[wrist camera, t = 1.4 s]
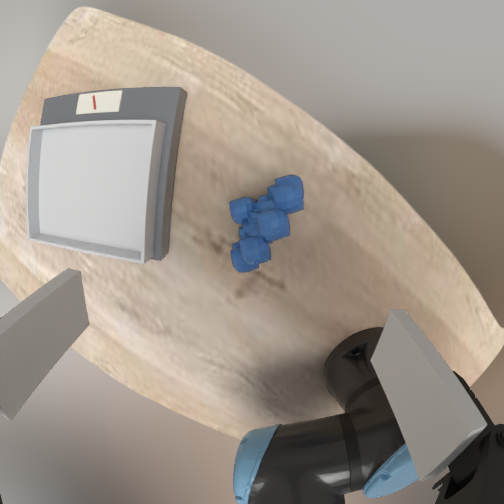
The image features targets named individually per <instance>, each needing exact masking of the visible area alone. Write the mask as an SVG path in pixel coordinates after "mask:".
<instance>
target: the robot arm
mask: <svg viewBox="0 0 504 504" xmlns="http://www.w3.org/2000/svg"><path fill="white" fill-rule="evenodd" d="M89 325H90V324H89V319H88V314H87V309H86V303H85V297H84V291H83V285H82V277H81V271H78V270H73V269H66V270H65V271H63V272H62V273H61V274H59V275H58V276H56V277H55V278H53V279H52V280H51V281H49V282H48V283H46V284H45V285H44V286H42V287H41V288H39V289H38V290H37V291H35V292H34V293H33V294H31V295H30V296H29V297H27V298H26V299H25V300H23V301H22V302H21V303H20V304H18V305H17V306H16V307H15V308H13V309H12V310H11V311H9V312H8V313H7V314H6V315H4V316H3V317H1V318H0V414H1V415H3V416H4V417H5V418H7V419H8V420H10V421H12V420H13V418H14V417H15V416H16V414H17V413H18V412H19V410H20V409H21V407H22V406H23V404H24V403H25V402H26V401H27V399H28V398H29V397H30V395H31V394H32V393H33V391H34V390H35V389H36V388H37V386H38V385H39V384H40V383H41V381H42V380H43V379H44V377H45V376H46V375H47V374H48V373H49V371H50V370H51V369H52V368H53V366H54V365H55V364H56V363H57V361H58V360H59V359H60V358H61V357H62V356H63V354H64V353H65V352H66V351H67V350H68V348H69V347H70V346H71V345H72V344H73V343H74V342H75V340H76V339H77V338H78V337H79V336H80V335H81V334H82V332H83V331H84V330H85V329H86V328H87V327H88V326H89ZM324 379H325V383H326V387H327V389H328V391H329V393H330V394H331V395H332V396H333V397H334V398H335V399H336V401H337V402H338V404H339V405H340V406H341V407H342V409H343V410H344V412H345V413H343V414H339V415H334V416H330V417H325V418H320V419H315V420H310V421H305V422H299V423H293V424H286V425H282V424H277V425H275V426H272V427H266V428H260V429H254V430H252V431H250V432H248V433H247V434H246V435H245V436H244V437H243V439H242V440H241V443H240V445H239V447H238V451H237V454H236V459H235V464H234V473H233V488H234V494H235V495H236V501H237V502H238V504H345V499H344V494H347V493H350V492H354V491H357V490H362V489H363V494H365V495H366V497H368V498H377V497H382V496H385V495H388V494H391V493H394V492H396V491H398V490H400V489H402V488H404V487H406V486H408V485H409V484H411V483H413V482H414V481H416V480H417V479H419V480H420V481H423V480H426V479H429V478H432V477H434V476H437V475H438V474H439V473H441V472H442V471H443V470H444V469H445V468H446V467H447V466H448V467H449V470H450V472H449V473H448V474H446V475H445V476H444V477H443V478H442V479H441V480H439V481H438V482H437V483H436V484H435V485H434V486H433V488H432V489H435V488H437V487H438V486H439V485H441V484H442V483H443V484H442V487H440V488H439V489H438V491H440V493H439V495H438V498H437V500H436V503H435V504H504V424H498V425H494V424H493V422H492V421H491V419H490V418H489V416H488V414H487V413H486V411H485V410H484V408H483V407H482V405H481V404H480V402H479V401H478V399H477V398H475V395H474V393H473V392H472V390H470V387H469V386H468V385H467V383H466V382H465V380H464V379H463V378H462V377H461V376H459V375H458V374H457V373H456V372H455V371H452V370H451V369H450V367H449V366H448V364H447V363H446V362H445V360H444V359H443V358H442V356H441V355H440V354H439V352H438V351H437V350H436V348H435V347H434V346H433V344H432V343H431V342H430V340H429V339H428V338H427V336H426V335H425V334H424V333H423V331H422V330H421V329H420V328H419V326H418V325H417V324H416V323H415V321H414V320H413V319H412V318H411V316H410V315H409V314H408V313H407V312H406V310H394V309H391V310H390V313H389V316H388V318H387V321H386V324H385V326H384V328H374V329H369V330H365V331H362V332H359V333H357V334H355V335H353V336H351V337H349V338H348V339H346V340H345V341H343V342H342V343H341V344H340V345H339V346H337V347H336V348H335V350H334V351H333V352H332V353H331V354H330V356H329V358H328V359H327V361H326V364H325V367H324ZM0 504H3V503H2V499H1V495H0Z"/></svg>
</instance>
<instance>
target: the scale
mask: <svg viewBox="0 0 504 504" xmlns="http://www.w3.org/2000/svg"><path fill="white" fill-rule="evenodd" d="M186 97H187V92H185V91H184V90H183V89H182V88H181V87H144V88H123V89H110V90H100V91H91V92H83V93H76V94H69V95H63V96H58V97H52V98H47V99H45V101H44V106H43V112H42V118H41V125H40V126H35V127H30V135H29V144H28V156H27V173H26V214H27V231H28V240H30V241H34V242H38V243H43V244H47V245H52V246H56V247H61V248H65V249H70V250H75V251H79V252H84V253H89V254H94V255H99V256H104V257H108V258H114V259H119V260H124V261H129V262H134V263H139V264H145V263H146V262H147V261H148V260H149V259H155V260H160V261H161V260H162V259H163V258H164V257H165V256H166V255H167V254H168V247H169V231H170V218H171V206H172V196H173V186H174V177H175V169H176V161H177V153H178V146H179V139H180V132H181V126H182V120H183V114H184V108H185V102H186Z"/></svg>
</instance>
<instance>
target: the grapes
mask: <svg viewBox="0 0 504 504" xmlns="http://www.w3.org/2000/svg"><path fill="white" fill-rule="evenodd" d="M259 198H260V199H258V200H256V202H257V203H255V202H254V200H253V199H251V198H248V197H243V198H239V199H236V200H233V201H231V202H229V203H230V211H231V216H232V219H233V220H234V222H235V223H237V224H242V227H240V228H239V236H240V239H241V240H240V241H239V242H237V243H234V244H232V246H233V250H231V259H232V264H233V267H234V268H235V269H236V270H237V271H238V272H249V271H252V270H255V269H257V268H259V264H261V263H264V262H266V261H269V260H271V252H270V246H269V244H271V243H273V241H276V240H279V239H281V238H284V237H287V236H289V235H290V224H289V219H288V216H287V215H288V214H291V213H294V212H297V211H300V210H303V209H304V201H303V198H304V190H303V183H302V180H301V179H300V177H298V176H296V175H288V176H284V177H280V178H278V179H275V185H273V186H270V187H268V195H264V196H261V197H259Z"/></svg>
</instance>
